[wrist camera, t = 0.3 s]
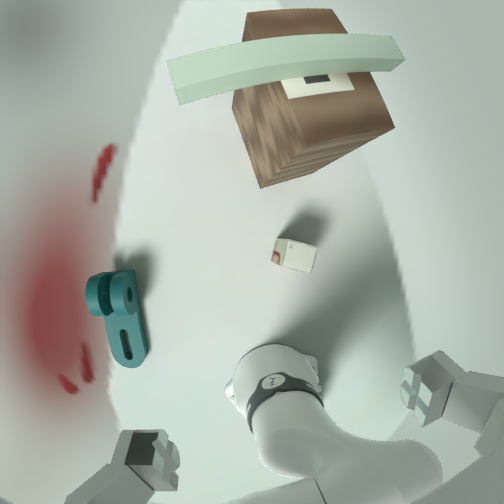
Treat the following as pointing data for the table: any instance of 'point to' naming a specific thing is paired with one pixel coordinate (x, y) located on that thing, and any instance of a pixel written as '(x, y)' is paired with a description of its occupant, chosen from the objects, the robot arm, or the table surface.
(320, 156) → the stand
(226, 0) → the table surface
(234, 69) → the bar
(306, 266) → the small box
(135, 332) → the bracket
